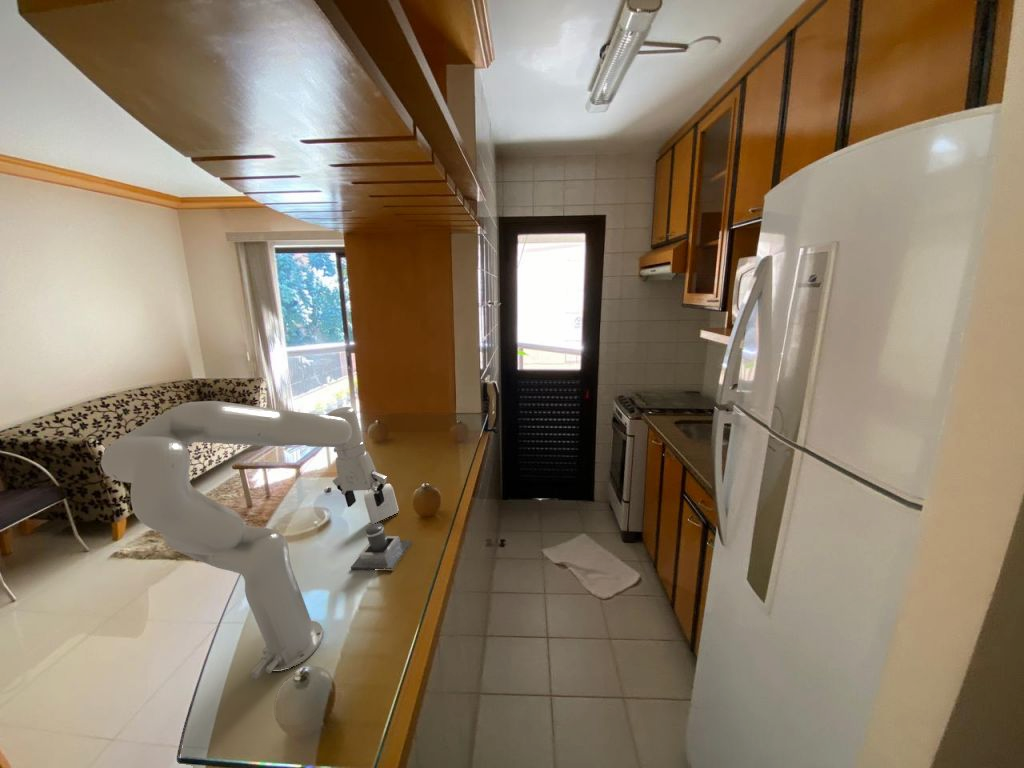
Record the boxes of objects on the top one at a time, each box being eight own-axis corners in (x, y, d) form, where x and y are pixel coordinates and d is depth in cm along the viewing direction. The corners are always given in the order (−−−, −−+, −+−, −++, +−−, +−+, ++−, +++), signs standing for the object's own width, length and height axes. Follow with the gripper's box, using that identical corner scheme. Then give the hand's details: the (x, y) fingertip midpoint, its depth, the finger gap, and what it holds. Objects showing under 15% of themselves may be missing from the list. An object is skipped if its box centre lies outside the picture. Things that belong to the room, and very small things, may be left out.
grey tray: (393, 571, 113) (389, 559, 112) (351, 569, 117) (347, 558, 116) (412, 543, 125) (409, 532, 124) (373, 543, 128) (370, 532, 127)
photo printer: (397, 508, 147) (389, 479, 144) (400, 513, 143) (392, 483, 140) (369, 521, 142) (360, 490, 138) (372, 526, 138) (363, 495, 135)
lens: (384, 559, 117) (377, 533, 115) (369, 559, 119) (362, 533, 117) (393, 548, 122) (386, 523, 120) (379, 547, 124) (371, 523, 121)
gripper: (316, 458, 110) (333, 511, 115) (370, 455, 106) (385, 511, 110) (334, 446, 117) (348, 497, 122) (385, 443, 113) (398, 496, 117)
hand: (366, 504), depth 116 cm, fingers open, 9 cm apart
